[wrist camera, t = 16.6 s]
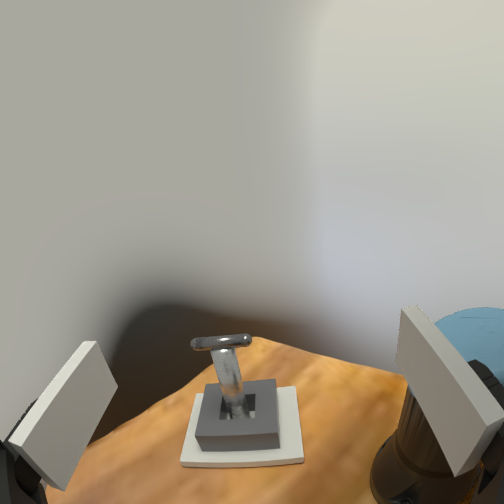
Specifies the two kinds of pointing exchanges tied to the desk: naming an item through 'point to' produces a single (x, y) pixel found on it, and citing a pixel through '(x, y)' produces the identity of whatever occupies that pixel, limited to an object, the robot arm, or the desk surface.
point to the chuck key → (228, 369)
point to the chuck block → (244, 429)
